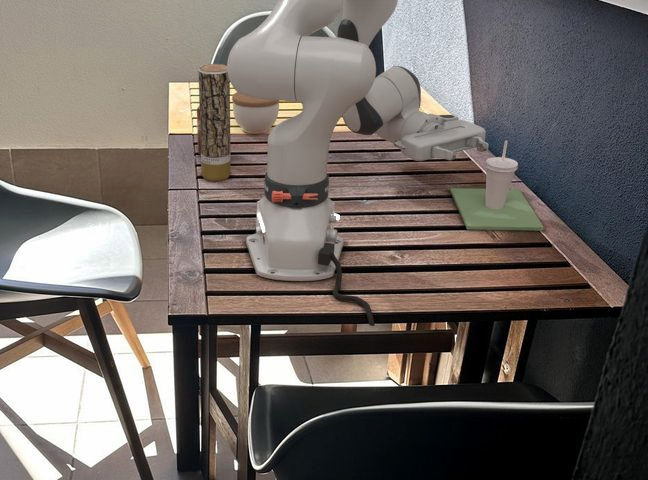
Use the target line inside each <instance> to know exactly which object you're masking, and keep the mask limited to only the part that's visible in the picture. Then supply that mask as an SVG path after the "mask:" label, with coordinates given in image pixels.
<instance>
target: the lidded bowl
mask: <svg viewBox="0 0 648 480" xmlns="http://www.w3.org/2000/svg"><path fill="white" fill-rule="evenodd" d="M231 101H232V112H233V117H234V120H235V122H236V124H237V125H238V126H239V127H240V128H241V129H242V131H243V132H245V133H247V134H253V135H254V134H255V135H256V134H257V135H258V134H264V133H267V132H269V131H270V129H271V128H272V127H273V126H274V124H275V123H276V122H277V119H278V117H279V111H280V101H279V100H263V99H258V98H254V97H250V96H247V95H244V94H240V93H238V92H237V91H236V92H235V93H233V94H232V96H231Z"/></svg>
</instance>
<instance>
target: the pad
mask: <svg viewBox="0 0 648 480" xmlns="http://www.w3.org/2000/svg"><path fill="white" fill-rule="evenodd" d="M449 192H450V195H451V197H452V199H453V202H454V204H455V206H456V208H457V210H458V212H459V215H460V217H461V219H462V221H463V224H464V226H465V228H466V230H467V231H468V230H473V231H475V230H476V231H477V230H479V231H488V230H489V231H532V232H533V231H537V232H539V231H540V232H544V229H545V227H544V225H543V224H542V222H541V221H540V219H539V217H538V216H537V214H536V212H535V211H534V209H533V208H532V205H530V203H529V201H528V200H527V198H526V197H525V195H524V194H523V192H522V190H521V189H520V188H510V189H509V192H508V195H507V198H506V201H505V205H504V208H503V209H500V210H494V209H489V208H487V207H486V206H485V202H486V188H464V187H463V188H462V187H461V188H460V187H457V188H455V187H451V188H450V189H449Z"/></svg>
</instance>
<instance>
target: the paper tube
mask: <svg viewBox="0 0 648 480" xmlns="http://www.w3.org/2000/svg"><path fill="white" fill-rule="evenodd" d="M198 102H199V104H198V106H200V141H201V156H200V167H201V176H202V178H203V179H205V180H207V181H210V182H220V181H225V180H227V179H229V178H230V176H231V174H232V173H231V171H232V169H231V168H232V167H231V161H232V160H231V158H232V157H231V154H232V153H231V82H230V80H229V77H228V72H227V64H222V63H207V64H203V65H200V66H198Z"/></svg>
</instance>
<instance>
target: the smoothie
mask: <svg viewBox="0 0 648 480" xmlns="http://www.w3.org/2000/svg"><path fill="white" fill-rule="evenodd" d="M508 141H509V140H504V143H503V150H502V156H494V157H489V158H487V159H486V160H485V164H484V166H485V168H486V173H485V189H486V202H485V206H486V207H487V208H489V209H494V210H500V209H503V208H504V205H505V201H506V198H507V195H508V192H509V189H511V185H512V182H513V179H514V176H515V172H516V171H517V170H518V168H519V163H518V162H517V160H515V159H513V158H509V157H506V155H507V154H506V153H507V146H508Z"/></svg>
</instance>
